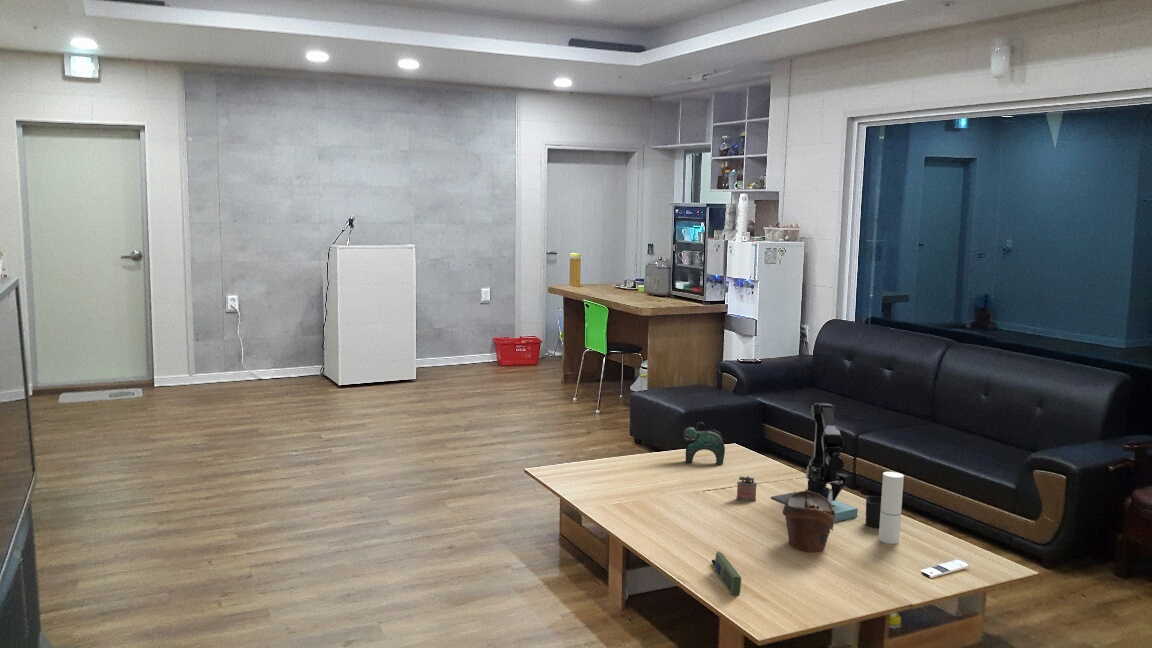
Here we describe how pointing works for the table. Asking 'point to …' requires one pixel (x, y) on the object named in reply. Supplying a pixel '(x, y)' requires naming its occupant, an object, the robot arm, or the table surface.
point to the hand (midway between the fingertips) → (828, 501)
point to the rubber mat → (783, 497)
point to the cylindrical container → (891, 507)
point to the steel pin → (830, 496)
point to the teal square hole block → (843, 511)
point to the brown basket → (808, 520)
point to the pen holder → (873, 511)
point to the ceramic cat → (703, 443)
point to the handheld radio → (727, 574)
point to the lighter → (746, 489)
